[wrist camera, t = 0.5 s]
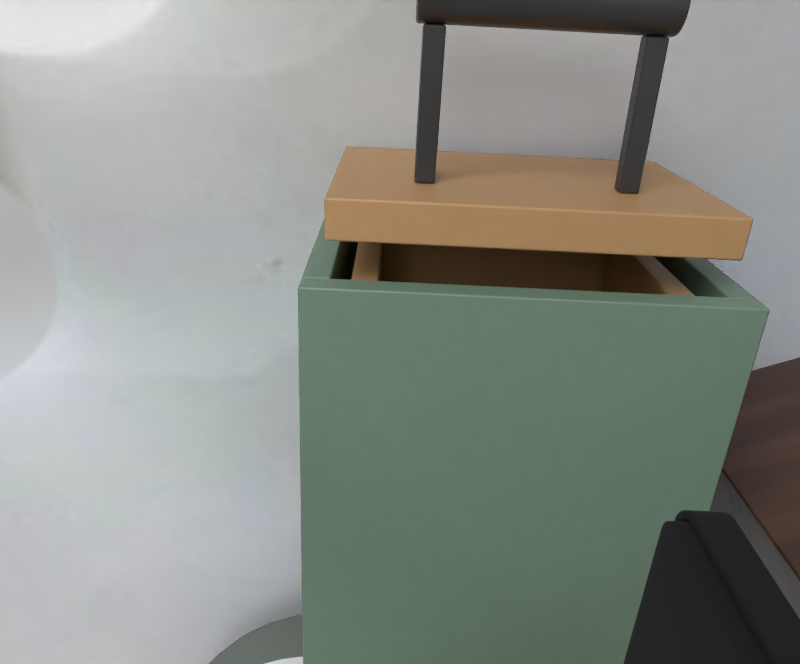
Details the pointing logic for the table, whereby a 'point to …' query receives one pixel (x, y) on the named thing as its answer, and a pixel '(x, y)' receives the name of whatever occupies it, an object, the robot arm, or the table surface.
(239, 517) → the table surface
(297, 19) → the table surface
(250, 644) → the bowl
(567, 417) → the cabinet
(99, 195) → the table surface
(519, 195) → the drawer
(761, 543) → the block
